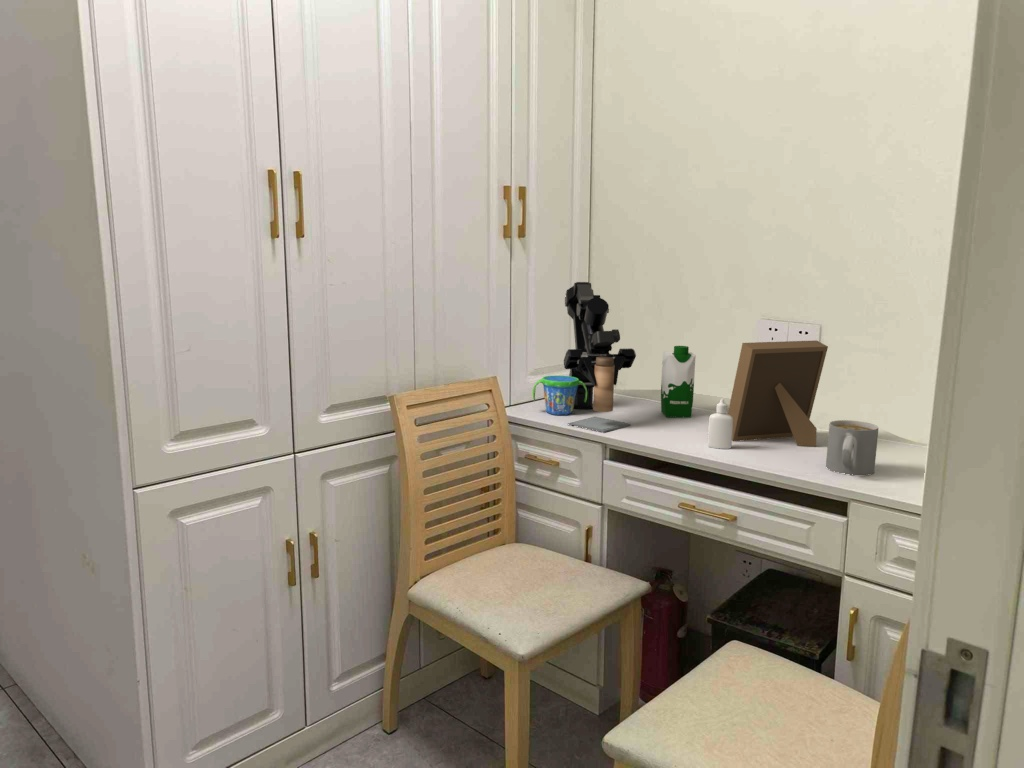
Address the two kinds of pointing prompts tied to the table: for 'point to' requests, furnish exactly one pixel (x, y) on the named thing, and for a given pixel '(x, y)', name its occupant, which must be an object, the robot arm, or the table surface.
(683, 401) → the milk carton
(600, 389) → the shaker
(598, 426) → the coaster
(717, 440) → the eye dropper bottle
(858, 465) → the coffee mug
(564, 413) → the snack cup
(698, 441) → the table surface
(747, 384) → the photo frame
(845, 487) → the table surface
